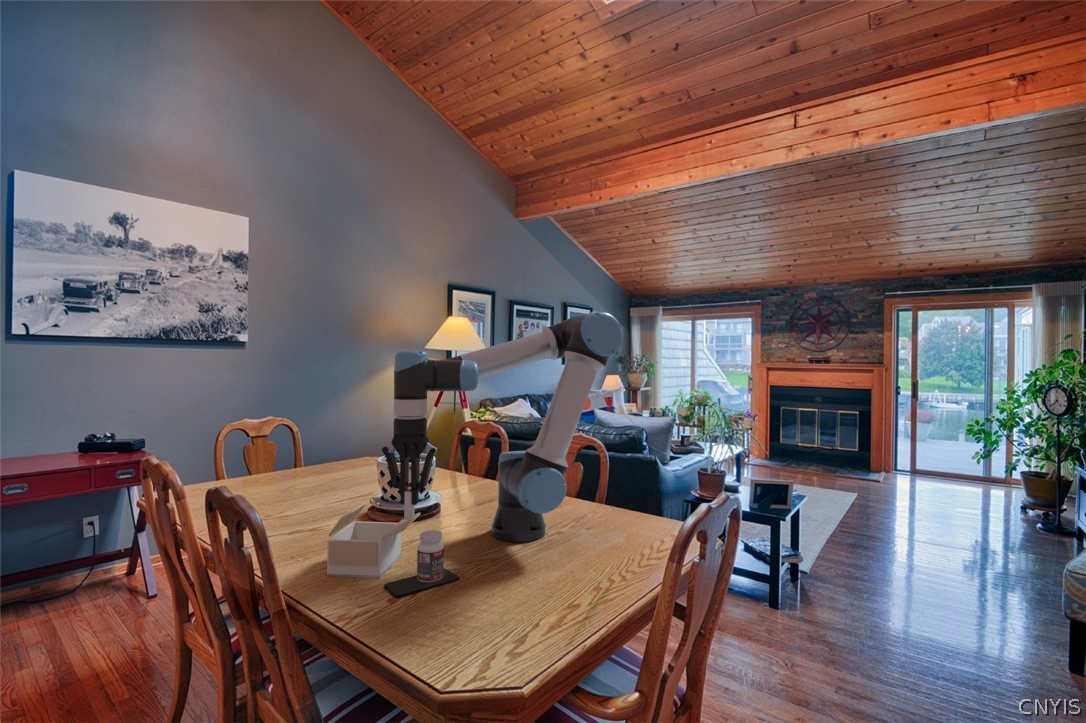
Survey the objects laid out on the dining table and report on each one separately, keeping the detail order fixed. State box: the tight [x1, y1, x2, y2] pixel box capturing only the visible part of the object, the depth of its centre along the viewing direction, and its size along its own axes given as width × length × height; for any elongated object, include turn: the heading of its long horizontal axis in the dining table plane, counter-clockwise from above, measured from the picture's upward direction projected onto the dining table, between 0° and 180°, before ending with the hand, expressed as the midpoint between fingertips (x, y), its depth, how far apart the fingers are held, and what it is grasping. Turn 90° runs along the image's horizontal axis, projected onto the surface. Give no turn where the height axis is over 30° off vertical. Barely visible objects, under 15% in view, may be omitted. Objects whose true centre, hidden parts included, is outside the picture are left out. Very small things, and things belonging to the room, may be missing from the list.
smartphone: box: [383, 568, 460, 599], centre depth 106 cm, size 7×1×15 cm
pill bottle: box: [416, 529, 445, 582], centre depth 108 cm, size 6×6×10 cm
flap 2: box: [382, 511, 421, 539], centre depth 114 cm, size 1×12×5 cm
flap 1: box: [328, 501, 367, 537], centre depth 115 cm, size 1×12×5 cm
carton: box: [326, 520, 402, 579], centre depth 115 cm, size 12×14×8 cm
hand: (409, 518), depth 114 cm, fingers closed
